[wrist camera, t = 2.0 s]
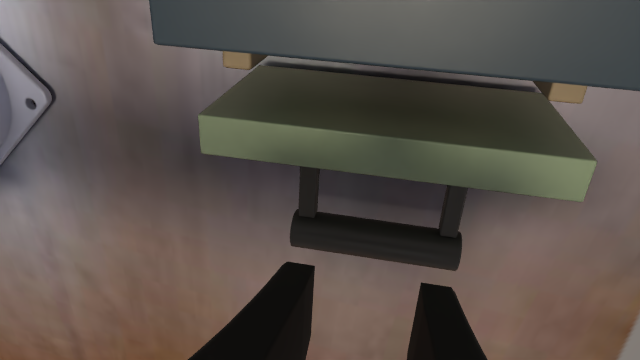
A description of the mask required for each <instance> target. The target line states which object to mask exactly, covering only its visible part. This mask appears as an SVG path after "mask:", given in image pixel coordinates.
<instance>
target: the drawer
mask: <svg viewBox="0 0 640 360" xmlns="http://www.w3.org/2000/svg"><path fill="white" fill-rule="evenodd" d="M267 56H268V55H259V54H249V53H238V52H228V51H223V65H224V67H226V68H235V69H245V70H250V69H252V68H253V67H254V66H256V65H257V64H258V63H259V62H261V61H262V60H263V59H265V58H266V57H267ZM533 82H534V83H535V85H536V86H537V87H538V88H539V90H540V91H541V92H542V93H543V94H542V93H535V92H524V91H514V90H504V89H494V88H484V87H474V86H464V85H454V84H444V83H434V82H424V81H414V80H404V79H394V78H384V77H373V76H363V75H353V74H343V73H333V72H323V71H313V70H303V69H293V68H283V67H273V66H263V65H259V66H258V67H257V68H255V69H254V70H253V71H252V72H250V73H249V74H248V75H247V76H246V77H244V78H243V79H242V80H241V81H239V82H238V83H237V84H236V85H234V86H233V87H232V88H231V89H230V90H228V91H227V92H226V93H225V94H223V95H222V96H221V97H220V98H218V99H217V100H216V101H215V102H213V103H212V104H211V105H210V106H209V107H207V108H206V109H205V110H204V111H202V112H201V113H200V114H199V115H198V120H199V134H200V148H201V153H202V154H209V155H217V156H225V157H233V158H241V159H249V160H256V161H264V162H272V163H280V164H288V165H295V166H300V189H299V209H297V210H296V211H295V213H294V216H293V220H292V224H291V232H290V243H291V246H295V247H301V248H308V249H314V250H321V251H327V252H334V253H341V254H347V255H354V256H360V257H367V258H373V259H380V260H387V261H393V262H400V263H406V264H413V265H419V266H426V267H433V268H439V269H446V270H452V271H456V270H457V269H458V266H459V263H460V258H461V251H462V235H461V232H458V229H459V225H460V220H461V216H462V212H463V207H464V203H465V198H466V194H467V189H468V188H475V189H483V190H491V191H498V192H506V193H514V194H522V195H530V196H537V197H545V198H553V199H561V200H569V201H577V202H583V200H584V198H585V195H586V192H587V189H588V186H589V184H590V181H591V178H592V175H593V173H594V170H595V167H596V164H597V160H596V159H595V158H594V156H593V155H592V154H591V153H590V151H589V150H588V149H587V148H586V146H585V145H584V144H583V143H582V142H581V140H580V139H579V138H578V137H577V135H576V134H575V133H574V132H573V130H572V129H571V128H570V127H569V125H568V124H567V123H566V122H565V120H564V119H563V118H562V117H561V115H560V114H559V113H558V112H557V110H556V109H555V108H554V107H553V105H552V104H551V103H550V102H549V101H557V102H567V103H577V104H580V103H582V101H583V98H584V95H585V92H586V89H587V86H581V85H571V84H561V83H550V82H540V81H533ZM548 100H549V101H548ZM320 169H327V170H334V171H342V172H350V173H358V174H366V175H373V176H381V177H389V178H397V179H405V180H413V181H420V182H428V183H436V184H444V185H447V188H446V193H445V198H444V203H443V208H442V213H441V218H440V223H439V229H437V228H430V227H423V226H416V225H409V224H402V223H394V222H387V221H380V220H373V219H366V218H359V217H352V216H345V215H338V214H330V213H323V212H317V209H318V191H319V174H320Z"/></svg>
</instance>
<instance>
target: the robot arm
mask: <svg viewBox="0 0 640 360" xmlns="http://www.w3.org/2000/svg"><path fill="white" fill-rule="evenodd" d="M32 100H34V102H35V103H36V106H35V105H34V104H33V103H32ZM51 101H52V96H51V93H50V91H49V90H48V89H47V88H46V87H45V86H44V85H43V84H42V83H41V82H40V81H39V80H38V79H37V78H36V77H35V76H34V75H33V74H32V73H31V72H30V71H29V70H28V69H27V68H25V67H24V66H23V65H22V64H21V63H20V62H19V61H18V60H17V59H16V58H15V57H14V56H13V55H12V54H11V53H10V52H9V51H8V50H7V49H6V48H5V47H4V46H3V45H2V44H0V165H1V164H2V163H3V161H4V160H5V159H6V158H7V156H8V155H9V154H10V153H11V151H12V150H13V149H14V148H15V147H16V145H17V144H18V143H19V142H20V140H21V139H22V138H23V137H24V135H25V134H26V133H27V132H28V130H29V129H30V128H31V127H32V126H33V124H34V123H35V122H36V121H37V119H38V118H39V117H40V116H41V114H42V113H43V112H44V111H45V109H46V108H47V107H48V106H49V105H50V103H51ZM314 270H315V266H312V265H306V264H299V263H293V262H286V263H285V264H283V265H282V266H281V267H280V269H279V270H278V271H277V272H276V273H275V275H274V276H273V277H272V278H271V279H270V280H269V281H268V283H267V284H266V285H265V286H264V287H263V288H262V289H261V290H260V291H259V293H258V294H257V295H256V296H255V297H254V298H253V299H252V300H251V301H250V302H249V303H248V304H247V305H246V306H245V307H244V308H243V309H242V310H241V311H240V312H239V313H238V314H237V315H236V316H235V317H234V318H233V319H232V320H231V321H230V322H229V323H228V324H227V325H226V326H225V327H224V328H223V329H222V330H221V331H220V332H219V333H217V334H216V335H215V336H214V337H213V338H212V339H211V340H210V341H209V342H207V343H206V344H205V345H204V346H203V347H202V348H201V349H200V350H198V351H197V352H196V353H195V354H194V355H193V356H192V357H190V358H189V359H188V360H305V359H306V355H307V350H308V346H309V341H310V336H311V322H312V305H313V288H314ZM407 360H487V358H486V356H485V354H484V353H483V351H482V349H481V347H480V345H479V343H478V341H477V339H476V337H475V335H474V333H473V331H472V329H471V327H470V325H469V323H468V321H467V319H466V317H465V315H464V312H463V310H462V308H461V306H460V303H459V301H458V299H457V296H456V294H455V292H454V291H453V289H452V288H451V287H446V286H440V285H433V284H427V283H421V286H420V291H419V296H418V301H417V306H416V312H415V317H414V322H413V327H412V332H411V337H410V343H409V348H408V354H407Z"/></svg>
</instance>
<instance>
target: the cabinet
mask: <svg viewBox="0 0 640 360" xmlns="http://www.w3.org/2000/svg"><path fill="white" fill-rule="evenodd" d="M149 3H150V12H151V21H152V30H153V40H154V43H155V44H157V45H166V46H176V47H186V48H197V49H207V50H217V51H228V52H238V53H249V54H259V55H269V56H280V57H290V58H301V59H311V60H321V61H332V62H342V63H353V64H363V65H373V66H384V67H394V68H405V69H415V70H425V71H436V72H446V73H457V74H467V75H477V76H488V77H498V78H509V79H519V80H529V81H540V82H550V83H561V84H571V85H581V86H592V87H602V88H613V89H623V90H633V91H640V0H149Z"/></svg>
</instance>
